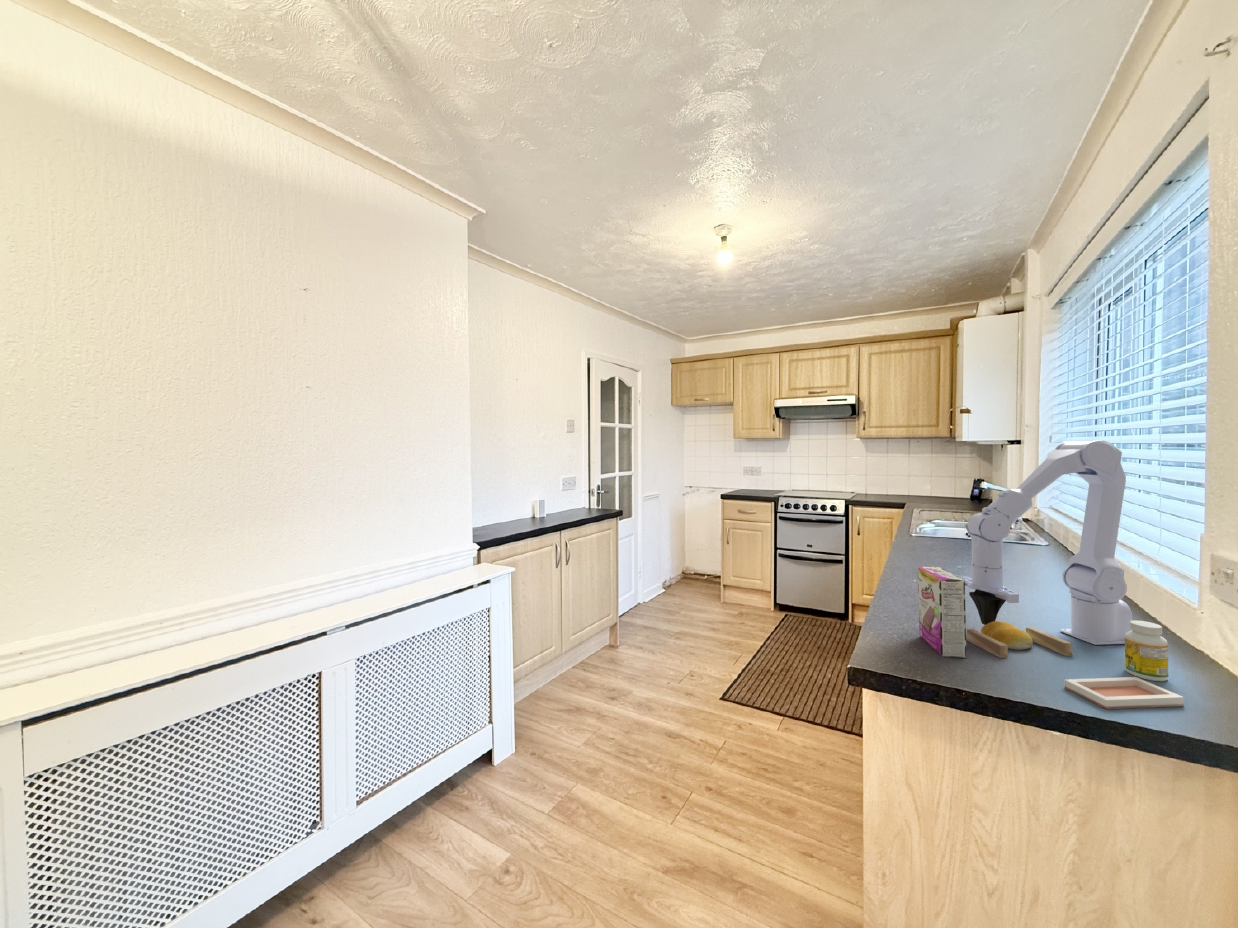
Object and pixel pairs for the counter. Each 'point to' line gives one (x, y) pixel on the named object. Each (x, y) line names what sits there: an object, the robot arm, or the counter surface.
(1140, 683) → the tray
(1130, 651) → the supplement bottle
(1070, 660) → the counter surface
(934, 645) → the candy bar box
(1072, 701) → the counter surface
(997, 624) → the bread roll
